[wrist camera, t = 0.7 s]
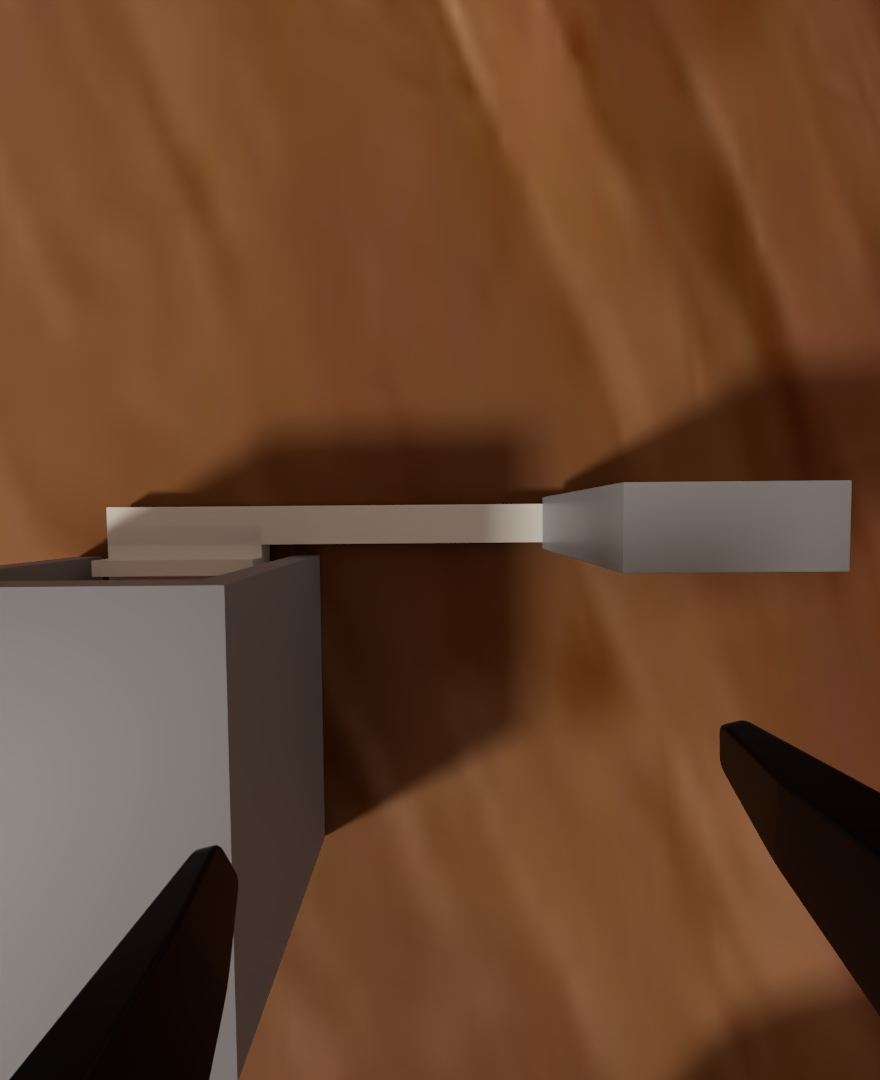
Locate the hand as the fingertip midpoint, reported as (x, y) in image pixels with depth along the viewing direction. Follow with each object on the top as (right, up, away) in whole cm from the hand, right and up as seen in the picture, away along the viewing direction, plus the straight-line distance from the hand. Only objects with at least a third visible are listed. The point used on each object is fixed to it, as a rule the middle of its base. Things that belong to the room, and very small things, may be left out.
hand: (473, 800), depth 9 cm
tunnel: (-11, -2, +13) cm, 17 cm away
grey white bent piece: (-3, +2, +12) cm, 13 cm away
